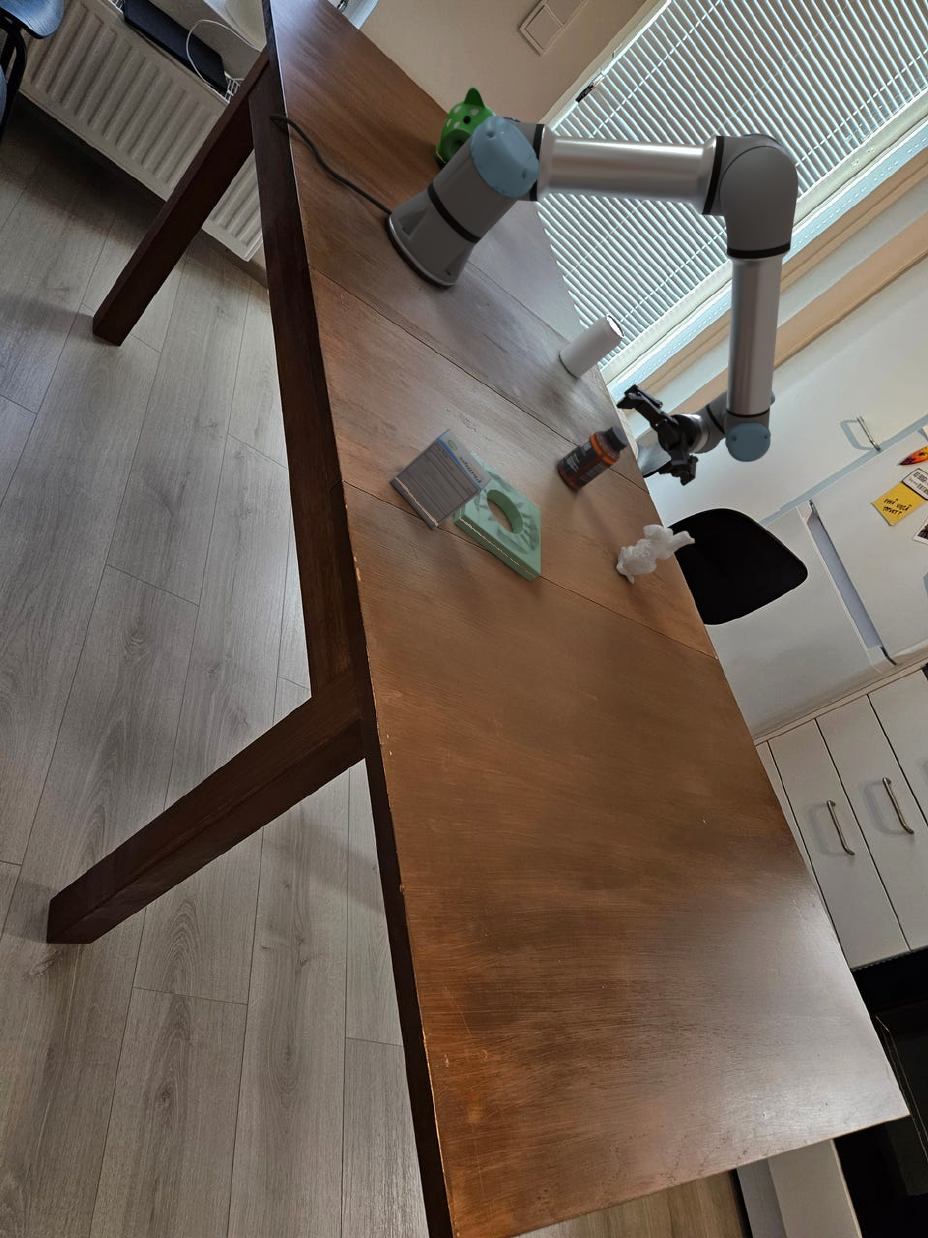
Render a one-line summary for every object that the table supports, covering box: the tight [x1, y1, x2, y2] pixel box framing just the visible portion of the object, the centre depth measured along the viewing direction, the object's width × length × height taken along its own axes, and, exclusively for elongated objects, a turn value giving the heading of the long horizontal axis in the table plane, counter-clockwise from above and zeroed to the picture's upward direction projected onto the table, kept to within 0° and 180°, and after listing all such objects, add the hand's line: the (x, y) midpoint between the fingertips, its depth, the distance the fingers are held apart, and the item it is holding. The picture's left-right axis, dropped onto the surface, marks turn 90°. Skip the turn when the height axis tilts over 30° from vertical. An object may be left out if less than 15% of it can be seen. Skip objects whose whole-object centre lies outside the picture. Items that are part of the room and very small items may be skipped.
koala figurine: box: [616, 524, 696, 584], centre depth 128 cm, size 8×7×12 cm
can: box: [559, 313, 626, 378], centre depth 159 cm, size 6×6×12 cm
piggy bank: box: [433, 86, 498, 165], centre depth 166 cm, size 14×18×15 cm
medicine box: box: [390, 428, 491, 531], centre depth 95 cm, size 8×4×9 cm, turn 65°
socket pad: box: [453, 450, 542, 583], centre depth 108 cm, size 14×14×2 cm
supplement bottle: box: [557, 425, 629, 490], centre depth 131 cm, size 6×6×11 cm
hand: (643, 434), depth 136 cm, fingers open, 13 cm apart
